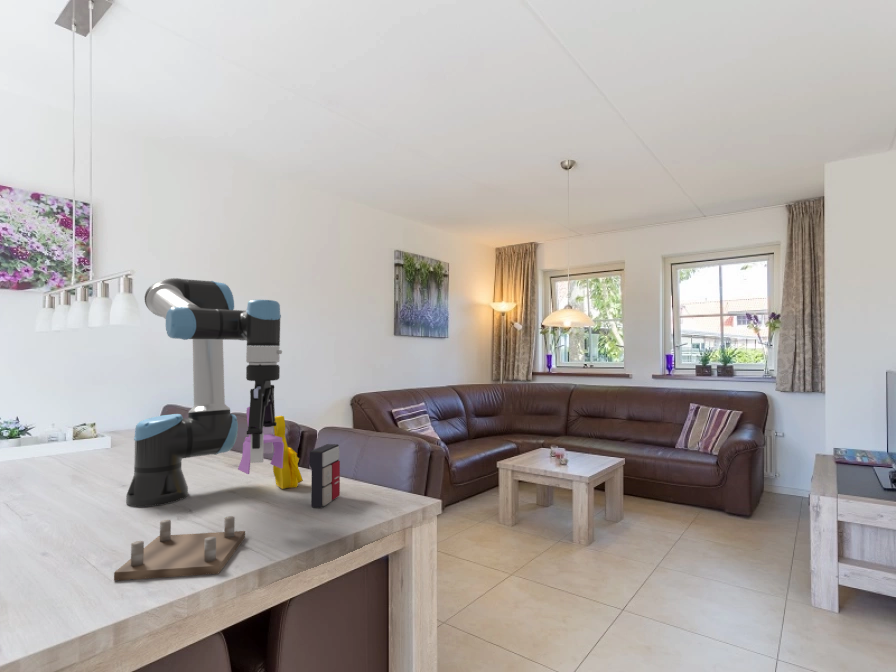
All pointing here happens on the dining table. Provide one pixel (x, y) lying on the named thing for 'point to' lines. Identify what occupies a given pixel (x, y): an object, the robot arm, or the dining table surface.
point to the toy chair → (276, 441)
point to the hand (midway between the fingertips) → (262, 457)
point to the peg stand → (181, 553)
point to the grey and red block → (325, 475)
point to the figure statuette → (286, 460)
